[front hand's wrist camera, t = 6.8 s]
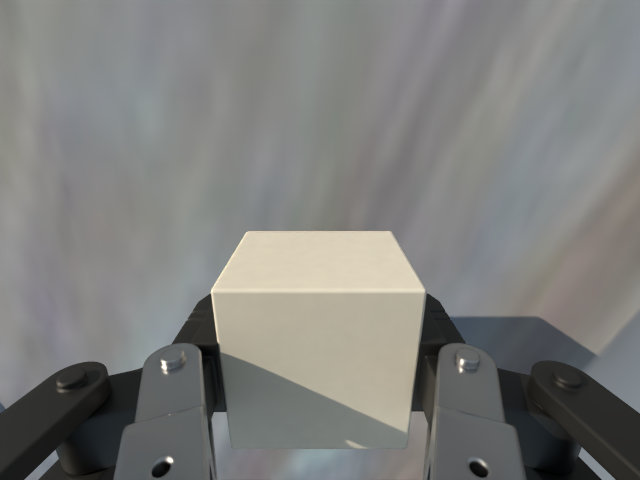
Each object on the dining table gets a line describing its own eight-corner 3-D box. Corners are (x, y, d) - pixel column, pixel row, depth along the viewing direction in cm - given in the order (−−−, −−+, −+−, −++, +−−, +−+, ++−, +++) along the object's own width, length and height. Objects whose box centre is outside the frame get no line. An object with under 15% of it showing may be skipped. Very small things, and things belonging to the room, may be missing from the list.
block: (256, 352, 13) (230, 450, 10) (246, 230, 12) (208, 290, 8) (382, 352, 13) (407, 450, 10) (392, 230, 12) (428, 290, 8)
